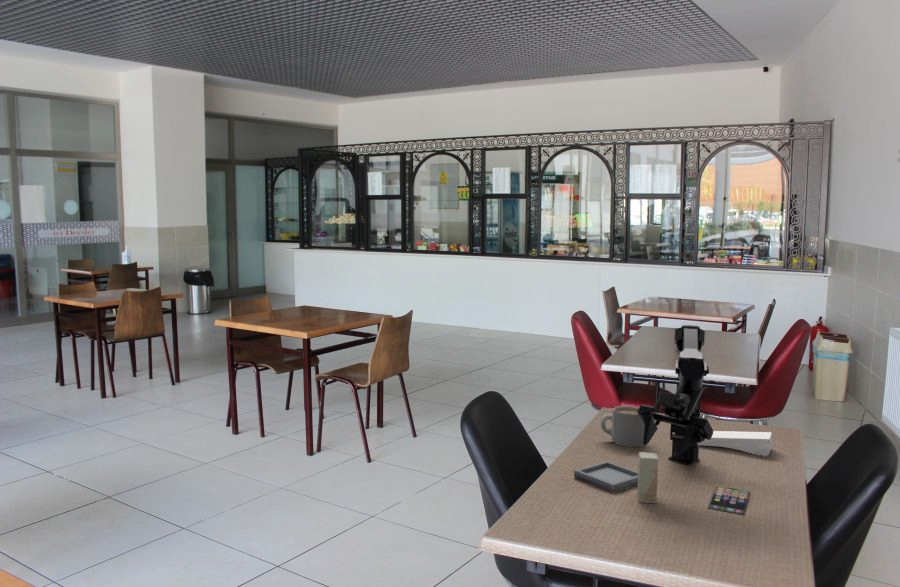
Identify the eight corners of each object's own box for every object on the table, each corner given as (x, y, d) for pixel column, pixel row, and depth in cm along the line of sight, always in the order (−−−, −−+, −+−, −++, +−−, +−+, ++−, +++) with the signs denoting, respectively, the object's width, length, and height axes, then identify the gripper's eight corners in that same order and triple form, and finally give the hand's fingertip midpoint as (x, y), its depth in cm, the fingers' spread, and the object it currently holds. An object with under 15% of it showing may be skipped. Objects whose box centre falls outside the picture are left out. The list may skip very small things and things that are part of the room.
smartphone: (707, 510, 171) (708, 505, 171) (716, 490, 184) (716, 485, 184) (744, 517, 167) (744, 512, 167) (749, 495, 181) (750, 491, 180)
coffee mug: (646, 439, 225) (647, 408, 224) (643, 448, 216) (644, 416, 215) (603, 434, 230) (604, 403, 229) (598, 443, 221) (599, 411, 220)
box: (656, 504, 173) (658, 459, 172) (638, 502, 174) (640, 458, 173) (654, 496, 178) (656, 452, 177) (636, 494, 179) (638, 451, 178)
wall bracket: (673, 460, 224) (771, 464, 210) (670, 439, 222) (769, 442, 208) (678, 444, 232) (773, 447, 219) (675, 423, 230) (771, 425, 217)
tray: (574, 477, 190) (574, 470, 190) (606, 468, 198) (606, 461, 198) (612, 492, 180) (613, 485, 180) (645, 482, 188) (645, 474, 187)
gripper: (642, 373, 187) (616, 422, 181) (710, 386, 173) (684, 439, 167) (657, 398, 193) (632, 447, 187) (723, 413, 180) (699, 465, 173)
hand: (660, 449), depth 178 cm, fingers open, 9 cm apart
